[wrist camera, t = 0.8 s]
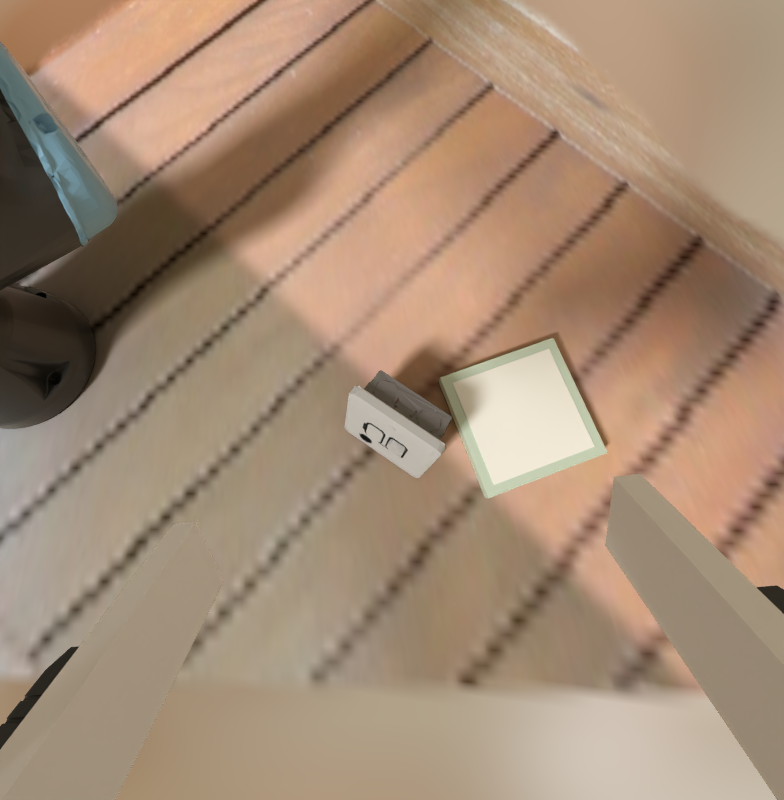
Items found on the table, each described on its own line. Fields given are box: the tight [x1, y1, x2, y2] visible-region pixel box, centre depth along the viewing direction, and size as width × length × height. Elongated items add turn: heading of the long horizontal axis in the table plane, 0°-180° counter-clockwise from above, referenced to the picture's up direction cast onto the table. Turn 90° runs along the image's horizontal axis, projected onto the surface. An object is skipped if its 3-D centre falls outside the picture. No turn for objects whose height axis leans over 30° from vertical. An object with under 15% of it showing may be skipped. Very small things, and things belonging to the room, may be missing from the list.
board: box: [438, 338, 608, 498], centre depth 39 cm, size 13×13×2 cm
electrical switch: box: [345, 371, 452, 478], centre depth 35 cm, size 9×5×9 cm, turn 56°
